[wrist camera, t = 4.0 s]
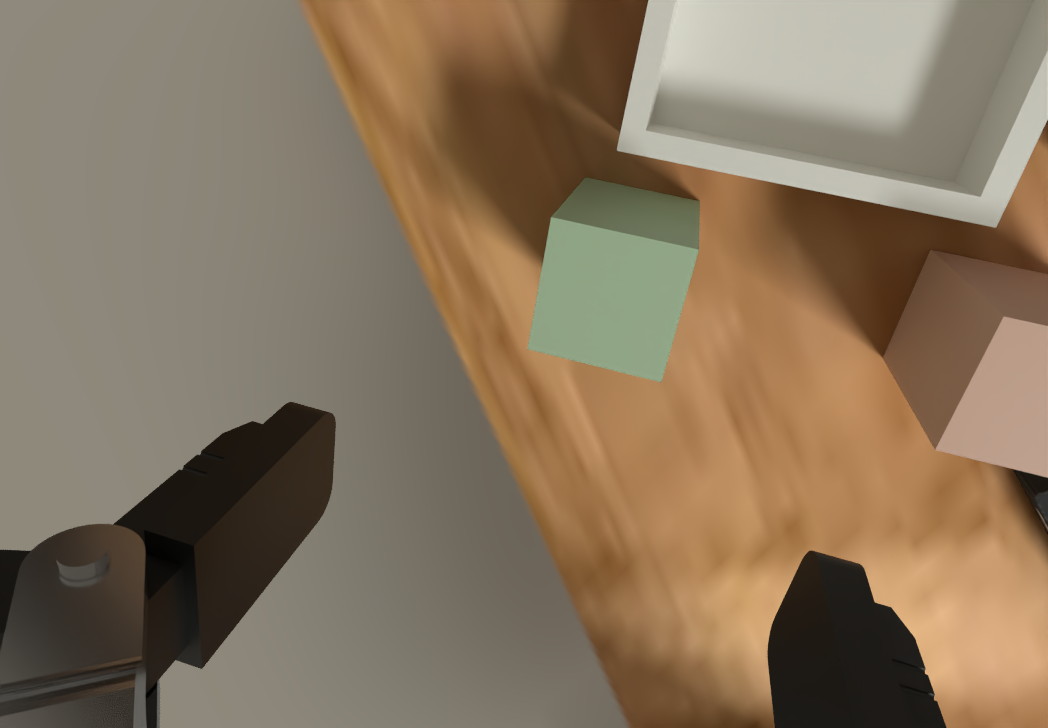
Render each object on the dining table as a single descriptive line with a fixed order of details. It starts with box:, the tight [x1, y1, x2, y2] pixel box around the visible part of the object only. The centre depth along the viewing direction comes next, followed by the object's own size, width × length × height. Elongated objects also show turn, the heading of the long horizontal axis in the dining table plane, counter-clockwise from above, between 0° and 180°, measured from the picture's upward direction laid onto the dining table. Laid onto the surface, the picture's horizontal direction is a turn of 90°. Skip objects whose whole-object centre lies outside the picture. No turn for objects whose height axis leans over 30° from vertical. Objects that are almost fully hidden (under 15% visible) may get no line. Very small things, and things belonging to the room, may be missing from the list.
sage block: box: [528, 177, 700, 382], centre depth 25 cm, size 4×4×7 cm
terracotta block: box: [883, 250, 1048, 478], centre depth 23 cm, size 4×4×7 cm
